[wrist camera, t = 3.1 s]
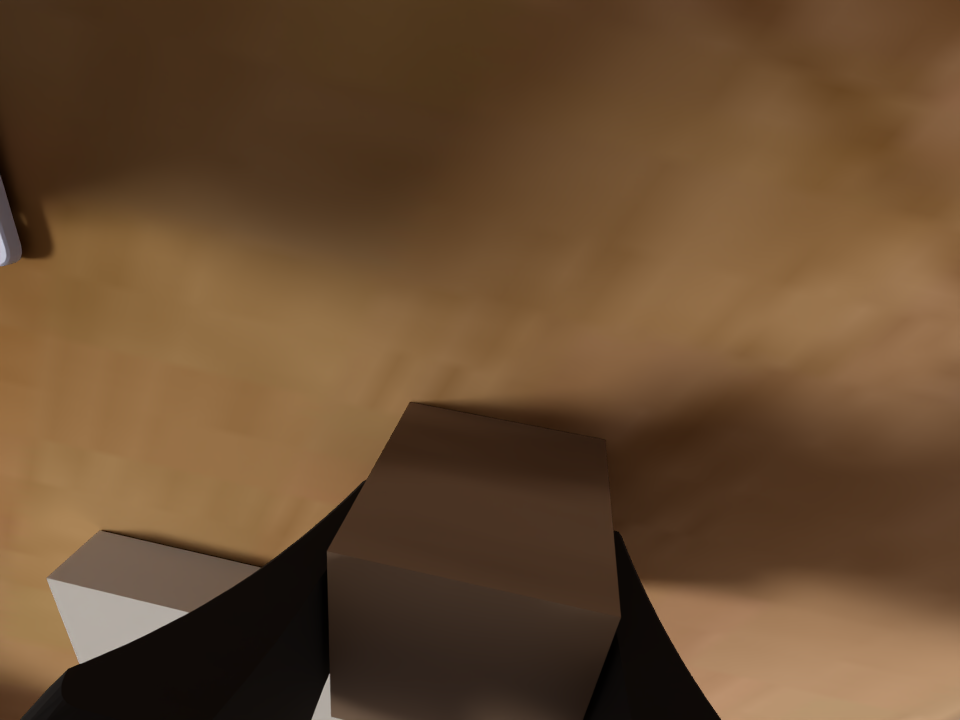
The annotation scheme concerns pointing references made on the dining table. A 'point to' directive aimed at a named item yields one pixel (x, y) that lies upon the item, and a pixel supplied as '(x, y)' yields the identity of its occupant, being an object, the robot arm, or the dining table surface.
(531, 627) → the walnut block
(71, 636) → the stoneware tile
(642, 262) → the dining table surface
